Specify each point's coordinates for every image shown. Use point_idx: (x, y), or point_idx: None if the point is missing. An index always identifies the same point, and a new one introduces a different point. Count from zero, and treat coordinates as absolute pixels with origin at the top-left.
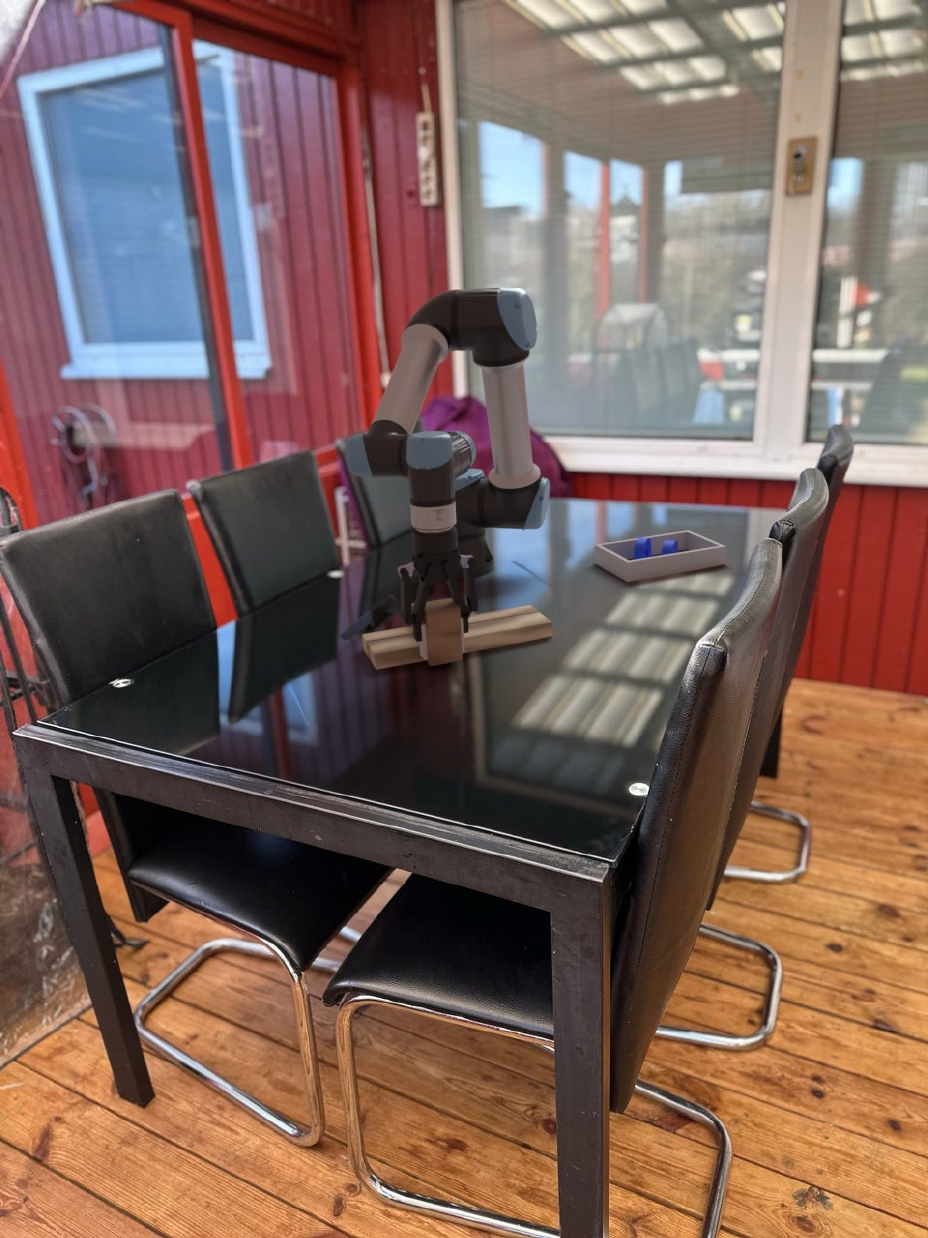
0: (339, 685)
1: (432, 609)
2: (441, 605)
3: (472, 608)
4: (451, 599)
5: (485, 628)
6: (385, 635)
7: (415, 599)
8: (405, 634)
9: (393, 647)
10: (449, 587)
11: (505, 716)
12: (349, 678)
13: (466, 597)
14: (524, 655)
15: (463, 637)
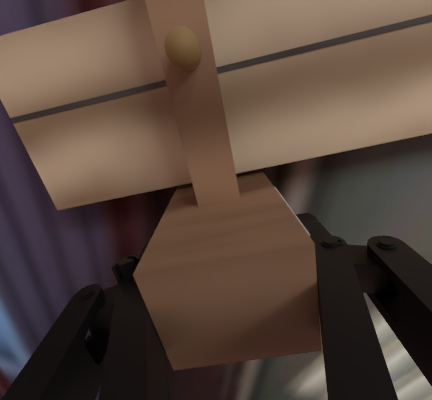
0: (20, 246)
1: (199, 350)
2: (245, 322)
3: (372, 297)
4: (310, 267)
5: (384, 100)
6: (59, 78)
7: (108, 351)
8: (125, 86)
9: (99, 180)
10: (329, 392)
11: (286, 373)
12: (31, 221)
13: (394, 277)
14: (408, 196)
15: None
